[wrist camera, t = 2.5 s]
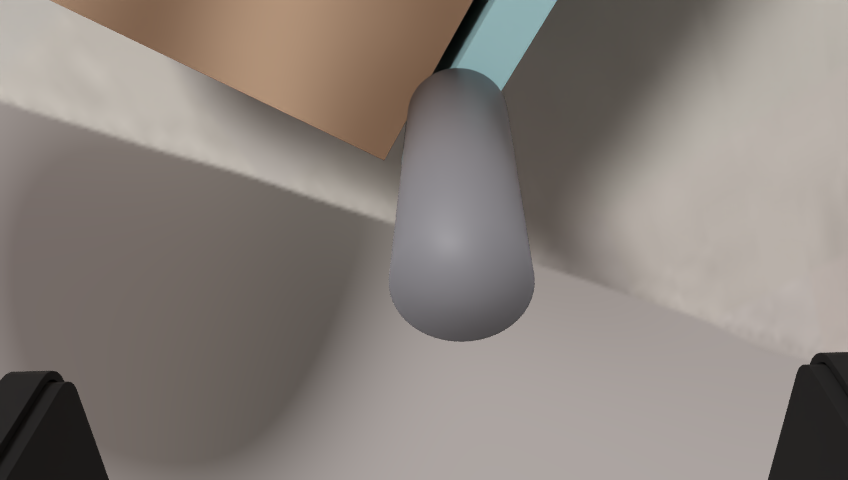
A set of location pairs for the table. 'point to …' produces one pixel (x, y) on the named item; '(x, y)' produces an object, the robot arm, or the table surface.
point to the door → (465, 184)
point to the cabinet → (301, 53)
